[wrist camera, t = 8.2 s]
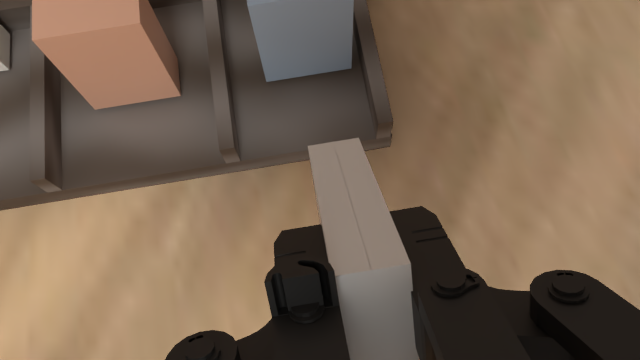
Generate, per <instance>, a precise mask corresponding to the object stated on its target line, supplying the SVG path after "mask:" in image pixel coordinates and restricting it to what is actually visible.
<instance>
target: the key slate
mask: <svg viewBox="0 0 640 360" xmlns="http://www.w3.org/2000/svg"><path fill="white" fill-rule="evenodd" d="M247 6H248V10H249V14H250V18H251V22H252V26H253V30H254V34H255V38H256V42H257V46H258V50H259V54H260V58H261V62H262V66H263V70H264V74H265V78H266V82H270V81H276V80H283V79H289V78H295V77H301V76H307V75H314V74H320V73H326V72H332V71H338V70H345V69H351V68H352V38H353V7H354V0H247Z"/></svg>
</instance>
